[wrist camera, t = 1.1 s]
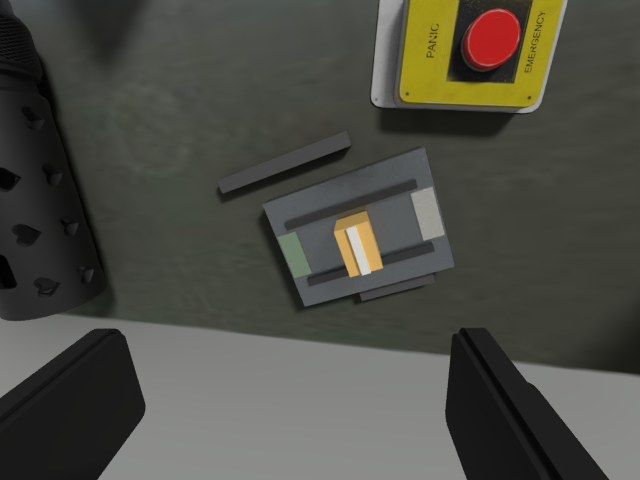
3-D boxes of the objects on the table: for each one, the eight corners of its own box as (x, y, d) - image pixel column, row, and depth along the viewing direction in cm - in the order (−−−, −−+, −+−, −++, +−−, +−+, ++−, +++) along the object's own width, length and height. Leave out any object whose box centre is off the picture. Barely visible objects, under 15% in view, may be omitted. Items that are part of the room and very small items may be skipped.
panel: (418, 146, 29) (425, 146, 26) (447, 257, 32) (456, 269, 29) (269, 199, 32) (260, 205, 29) (308, 295, 35) (304, 309, 32)
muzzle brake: (66, 277, 38) (-33, 323, 29) (-26, 22, 30) (-211, -36, 20) (133, 276, 37) (55, 323, 27) (57, 10, 29) (-97, -59, 19)
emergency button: (566, 109, 23) (371, 101, 24) (534, 114, 27) (369, 107, 29) (609, -40, 20) (385, -40, 21) (565, -9, 24) (380, -10, 26)
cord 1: (347, 131, 29) (346, 130, 28) (351, 145, 29) (351, 145, 28) (222, 179, 32) (216, 180, 30) (227, 191, 32) (222, 193, 31)
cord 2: (428, 265, 32) (432, 270, 31) (432, 276, 33) (435, 282, 31) (358, 284, 34) (358, 290, 33) (361, 294, 34) (362, 301, 33)
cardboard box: (366, 210, 28) (368, 222, 24) (379, 252, 29) (383, 269, 25) (336, 220, 29) (333, 232, 25) (350, 260, 30) (349, 278, 26)
